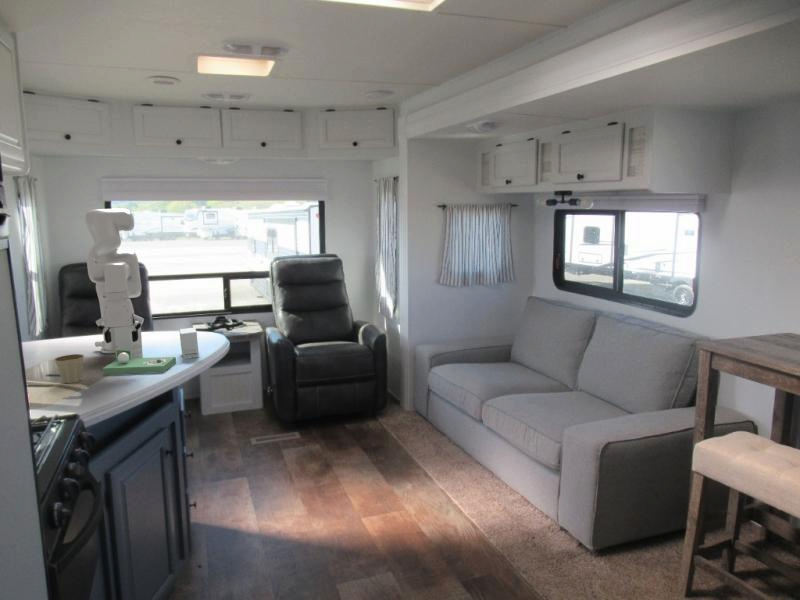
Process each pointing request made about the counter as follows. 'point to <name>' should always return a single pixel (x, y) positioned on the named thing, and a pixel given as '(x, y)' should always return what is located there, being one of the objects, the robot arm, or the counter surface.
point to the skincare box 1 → (128, 342)
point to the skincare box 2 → (189, 342)
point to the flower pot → (70, 367)
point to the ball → (123, 357)
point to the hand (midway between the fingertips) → (122, 341)
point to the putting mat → (140, 365)
